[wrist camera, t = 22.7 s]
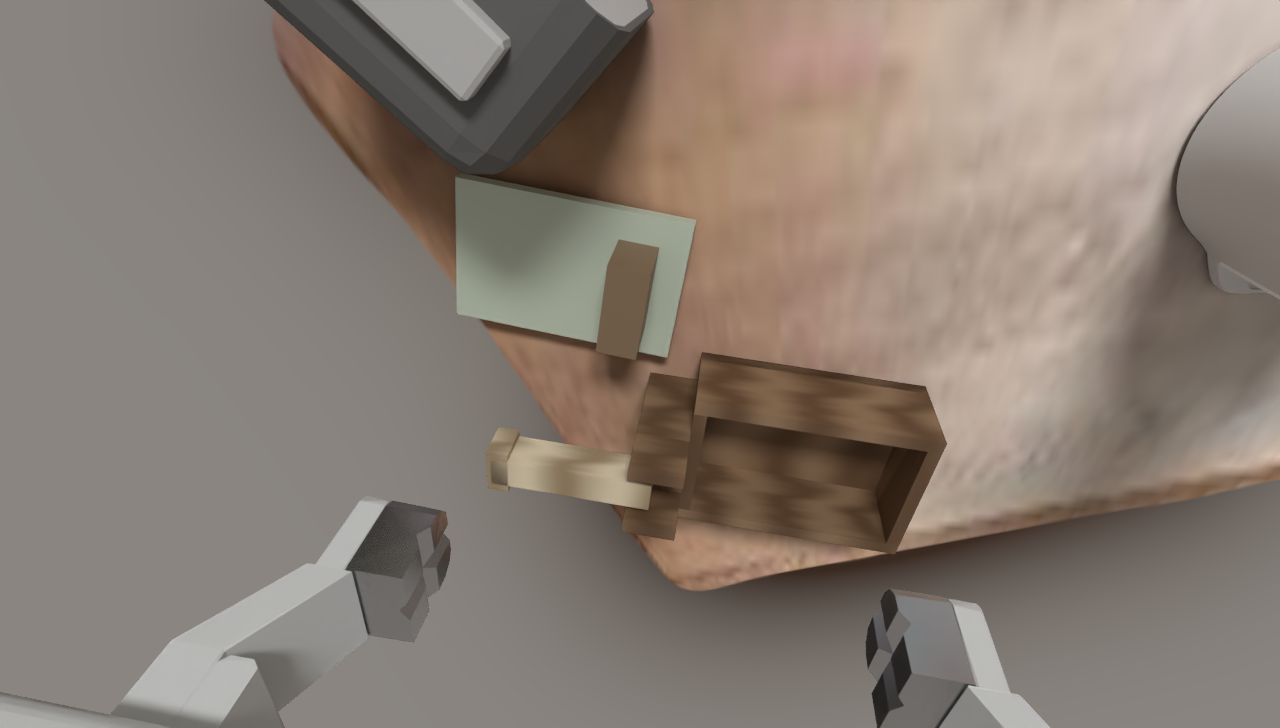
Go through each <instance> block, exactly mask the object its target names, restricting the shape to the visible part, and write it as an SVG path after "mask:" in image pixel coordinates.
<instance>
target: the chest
mask: <svg viewBox="0 0 1280 728" xmlns="http://www.w3.org/2000/svg"><path fill="white" fill-rule="evenodd" d="M946 445H947V443H946V440H945V437H944V434H943V432H942V429H941V426H940V424H939V421H938V418H937V416H936V413H935V410H934V408H933V405H932V402H931V400H930V397H929V394H928V392H927V389H926V387H925V386H918V385H912V384H905V383H899V382H892V381H886V380H879V379H873V378H866V377H860V376H853V375H847V374H840V373H833V372H827V371H820V370H814V369H807V368H801V367H794V366H788V365H781V364H775V363H768V362H762V361H755V360H749V359H742V358H736V357H729V356H723V355H716V354H710V353H703V352H702V356H701V362H700V368H699V374H698V380H695V379H688V378H682V377H676V376H669V375H663V374H657V373H650V378H649V382H648V386H647V390H646V395H645V399H644V403H643V407H642V412H641V416H640V420H639V424H638V429H637V433H636V437H635V442H634V446H633V450H632V454H631V459H630V463H629V467H628V474H627V480H631V481H637V482H643V483H649V484H653V487H652V493H651V498H650V504H649V509H648V510H644V509H639V508H633V507H627V506H626V508H625V513H624V517H623V522H622V531H623V532H627V533H633V534H639V535H644V536H650V537H656V538H662V539H667V540H673V541H674V538H675V533H676V525H677V518H678V517H681V518H687V519H693V520H699V521H705V522H710V523H716V524H722V525H728V526H734V527H739V528H745V529H751V530H757V531H763V532H768V533H774V534H780V535H786V536H792V537H797V538H803V539H809V540H815V541H821V542H826V543H832V544H838V545H844V546H850V547H856V548H861V549H867V550H873V551H879V552H885V553H890V554H895V553H896V551H897V549H898V546H899V544H900V542H901V540H902V538H903V536H904V534H905V532H906V529H907V527H908V525H909V523H910V521H911V519H912V517H913V515H914V513H915V510H916V508H917V506H918V504H919V502H920V500H921V498H922V496H923V493H924V491H925V489H926V487H927V485H928V483H929V481H930V479H931V477H932V474H933V472H934V470H935V468H936V466H937V464H938V462H939V460H940V457H941V455H942V453H943V451H944V449H945V447H946Z"/></svg>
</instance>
